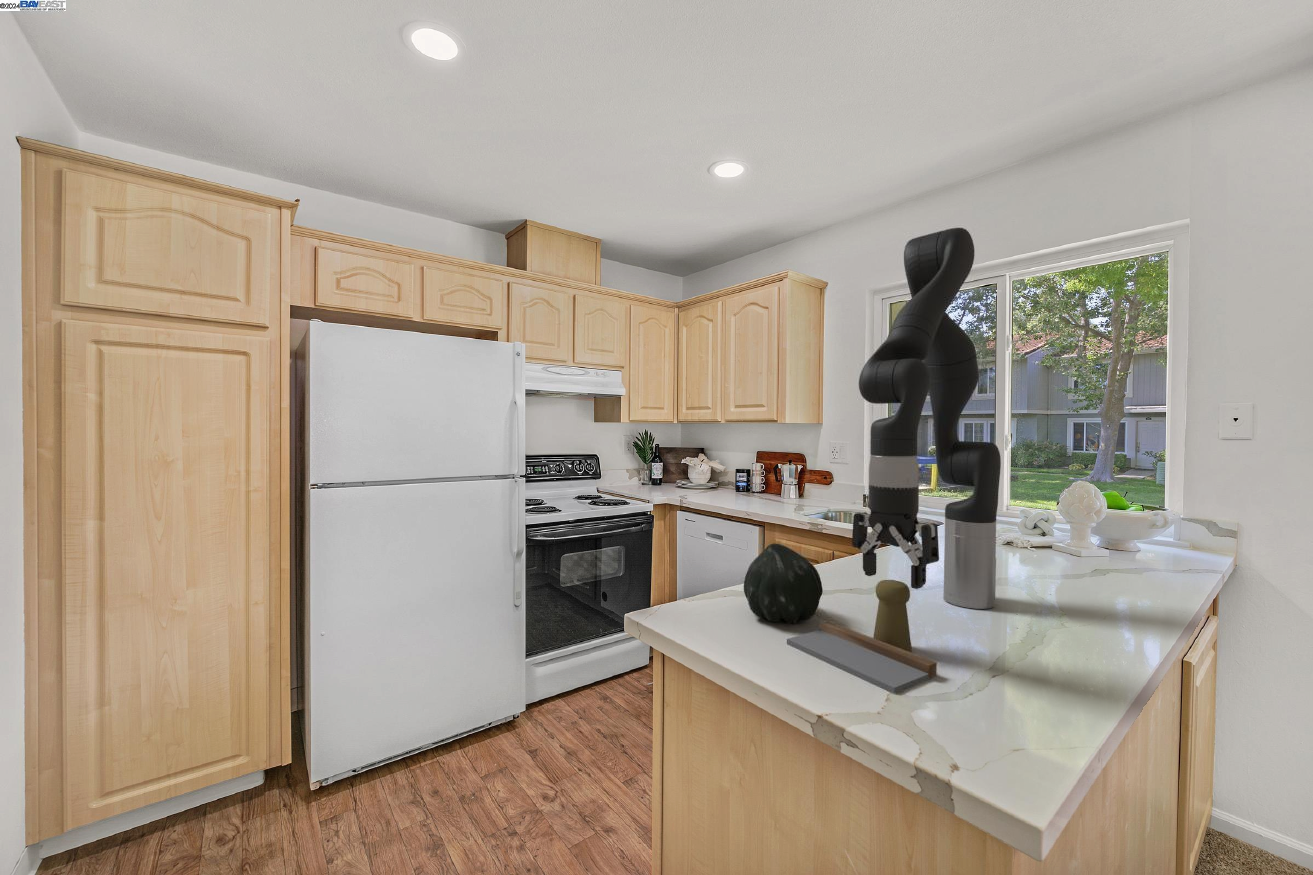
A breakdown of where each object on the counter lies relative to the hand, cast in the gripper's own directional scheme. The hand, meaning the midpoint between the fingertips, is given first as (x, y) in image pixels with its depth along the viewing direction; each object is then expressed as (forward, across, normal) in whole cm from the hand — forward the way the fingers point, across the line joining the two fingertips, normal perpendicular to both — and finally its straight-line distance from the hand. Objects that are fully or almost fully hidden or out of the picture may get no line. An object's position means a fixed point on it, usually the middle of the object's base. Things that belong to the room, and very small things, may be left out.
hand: (892, 581), depth 91 cm
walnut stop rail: (+11, 0, +5) cm, 12 cm away
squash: (+11, +20, +5) cm, 23 cm away
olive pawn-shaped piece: (+11, 0, 0) cm, 11 cm away
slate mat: (+11, 0, +10) cm, 15 cm away
